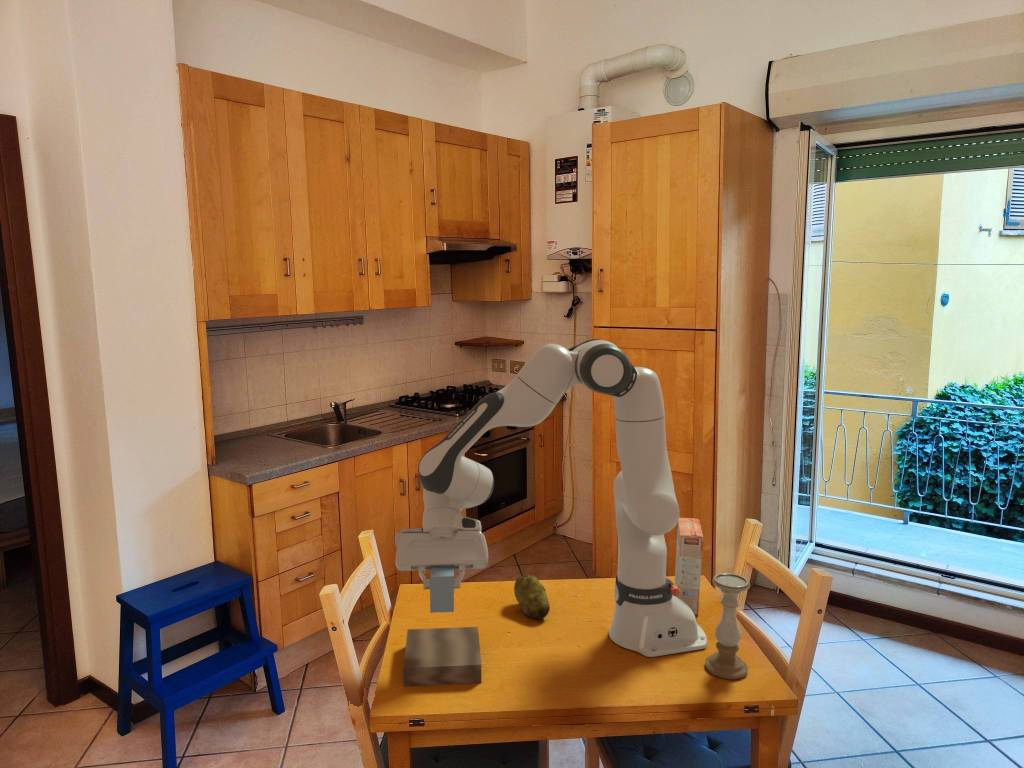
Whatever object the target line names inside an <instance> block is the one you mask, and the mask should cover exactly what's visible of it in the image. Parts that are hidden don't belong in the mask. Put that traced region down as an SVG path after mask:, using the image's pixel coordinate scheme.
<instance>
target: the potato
mask: <svg viewBox="0 0 1024 768" xmlns="http://www.w3.org/2000/svg"><path fill="white" fill-rule="evenodd" d="M513 593H514V597H515V599H516V601H517V602H518V605H519V609H520V610H521V612H522V613H523V614H525V615H526V616H527V617H529V618H533V619H537V620H541V619H543V618H546V617H547V615H548V614H549V612H550V608H551V607H550V601H549V597H548V595H547V591H546V589H545V586H544V585H543V584H542V583H541V582H540V580H539V578H538V577H537V576H536V575H532V574H523V575H521V576H519V577H517V578H516V580H515V582H514V587H513Z"/></svg>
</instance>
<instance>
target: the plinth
mask: <svg viewBox="0 0 1024 768" xmlns="http://www.w3.org/2000/svg"><path fill="white" fill-rule="evenodd" d="M479 634H480V632H479V626H466V627H465V626H463V627H462V626H460V627H459V626H458V627H438V628H437V627H436V628H435V627H433V628H411V629H410V628H409V629H407V633H406V641H405V642H406V643H405V649H404V651H405V652H404V658H403V659H404V661H403V668H402V670H403V687H412V686H413V687H414V686H436V685H437V686H438V685H458V684H462V685H463V684H481V683H482V655H481V646H480V635H479Z"/></svg>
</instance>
